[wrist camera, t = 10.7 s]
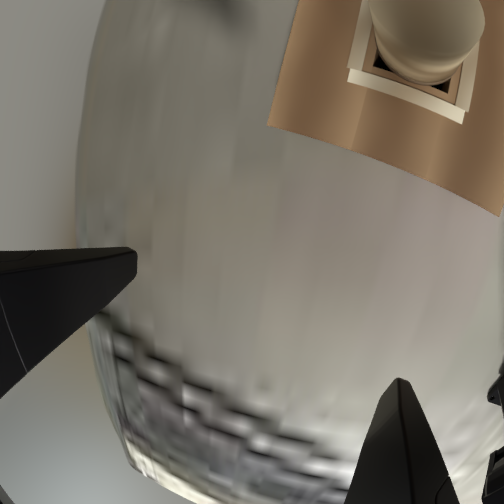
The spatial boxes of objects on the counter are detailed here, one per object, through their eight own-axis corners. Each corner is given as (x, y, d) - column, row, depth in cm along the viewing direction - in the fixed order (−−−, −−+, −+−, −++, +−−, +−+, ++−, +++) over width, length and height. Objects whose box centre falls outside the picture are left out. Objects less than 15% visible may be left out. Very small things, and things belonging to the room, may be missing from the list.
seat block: (517, 24, 8) (531, 9, 5) (483, 207, 14) (499, 217, 11) (327, -38, 12) (315, -61, 10) (284, 128, 18) (266, 125, 16)
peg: (454, 45, 11) (486, -18, 4) (442, 107, 13) (480, 74, 6) (384, 21, 13) (371, -55, 6) (371, 81, 15) (355, 29, 8)
